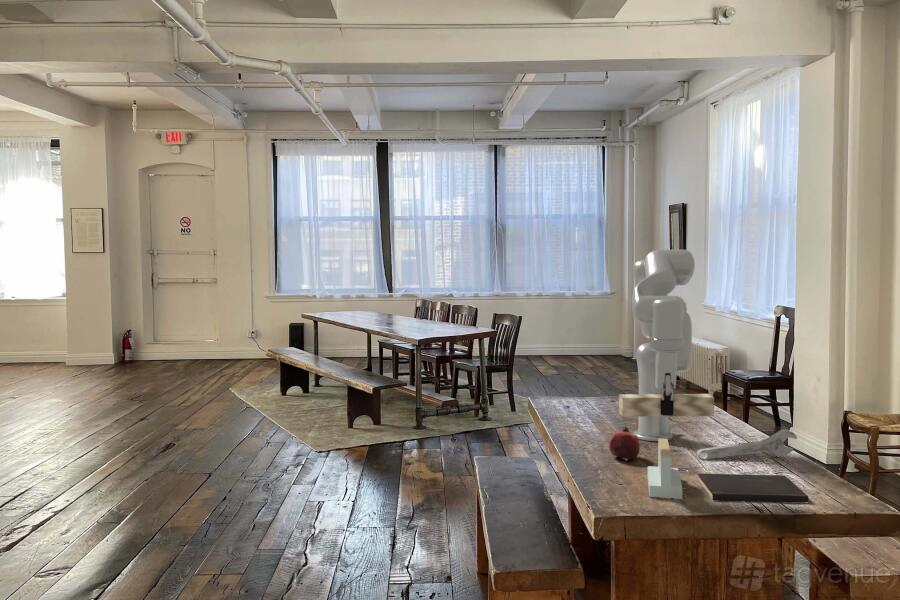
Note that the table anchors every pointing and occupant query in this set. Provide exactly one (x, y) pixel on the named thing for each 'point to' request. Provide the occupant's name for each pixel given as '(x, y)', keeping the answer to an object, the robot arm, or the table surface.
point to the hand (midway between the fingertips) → (666, 411)
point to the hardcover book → (751, 488)
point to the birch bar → (652, 405)
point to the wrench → (752, 447)
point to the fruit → (624, 445)
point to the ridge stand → (664, 475)
